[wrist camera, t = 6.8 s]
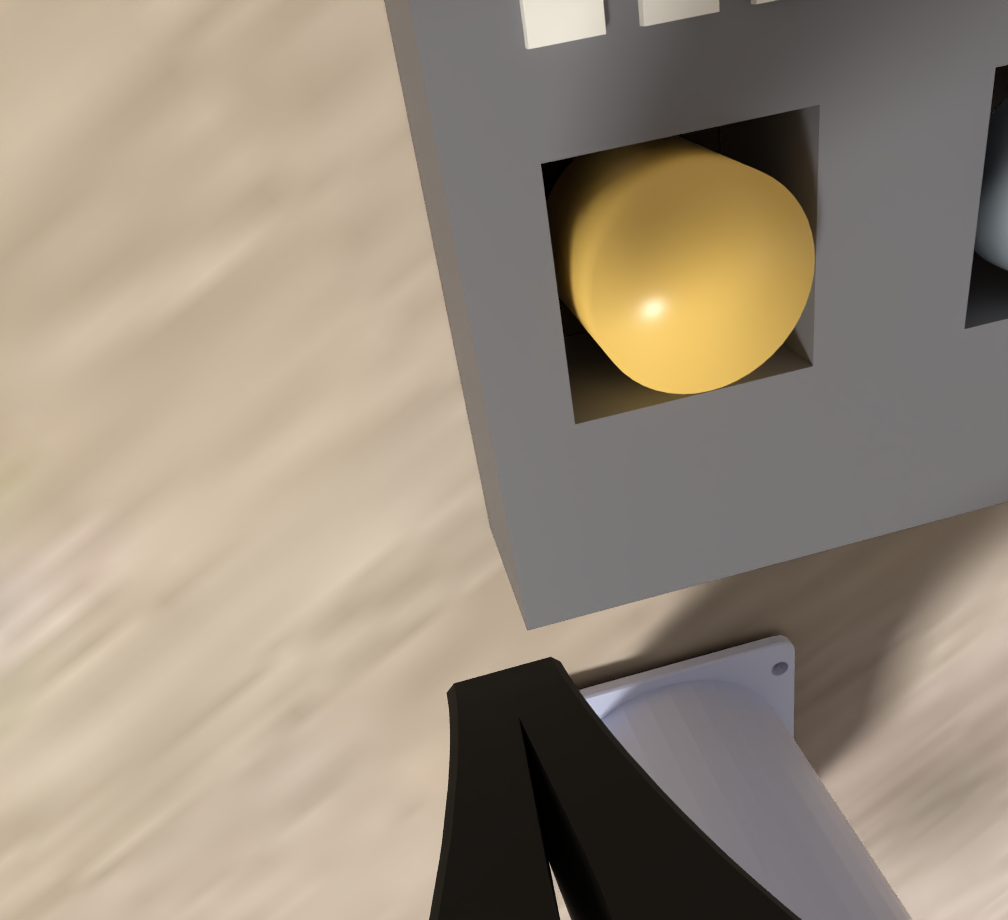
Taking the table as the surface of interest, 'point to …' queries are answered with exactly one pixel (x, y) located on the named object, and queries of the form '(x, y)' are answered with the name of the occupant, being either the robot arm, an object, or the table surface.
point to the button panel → (813, 341)
